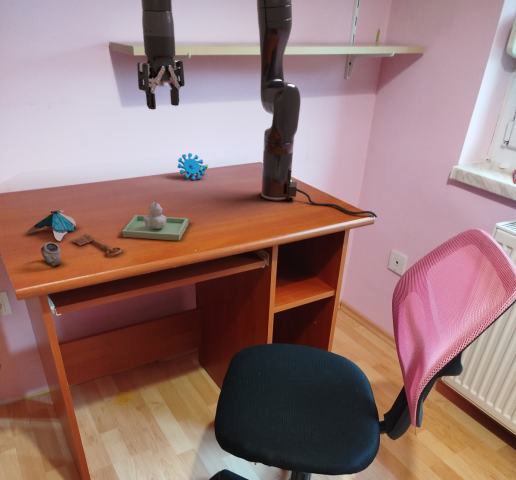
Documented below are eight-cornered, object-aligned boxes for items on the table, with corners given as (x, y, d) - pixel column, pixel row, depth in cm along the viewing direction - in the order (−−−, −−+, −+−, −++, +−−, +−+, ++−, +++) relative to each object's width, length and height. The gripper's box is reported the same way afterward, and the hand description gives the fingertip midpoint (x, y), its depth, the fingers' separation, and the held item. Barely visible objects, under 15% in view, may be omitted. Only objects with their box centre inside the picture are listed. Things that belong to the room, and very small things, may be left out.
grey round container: (53, 269, 110) (48, 248, 107) (39, 260, 113) (34, 240, 110) (67, 264, 112) (63, 244, 109) (53, 256, 115) (48, 236, 112)
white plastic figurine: (171, 229, 130) (169, 199, 126) (150, 234, 127) (147, 204, 122) (160, 223, 134) (158, 194, 129) (139, 228, 130) (136, 199, 125)
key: (72, 242, 123) (104, 260, 114) (71, 238, 122) (103, 257, 114) (92, 234, 126) (124, 252, 118) (91, 231, 125) (124, 248, 117)
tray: (188, 223, 135) (188, 218, 134) (179, 240, 125) (179, 234, 124) (136, 220, 136) (135, 214, 135) (122, 236, 126) (122, 230, 125)
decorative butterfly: (84, 212, 128) (56, 215, 119) (84, 237, 130) (57, 241, 121) (53, 206, 131) (24, 208, 122) (54, 230, 133) (25, 234, 124)
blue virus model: (180, 177, 165) (176, 150, 166) (176, 186, 170) (172, 160, 172) (210, 179, 169) (207, 153, 171) (206, 187, 175) (202, 162, 176)
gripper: (148, 35, 110) (154, 112, 120) (190, 34, 120) (192, 105, 129) (125, 33, 114) (133, 108, 123) (167, 32, 123) (171, 102, 133)
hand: (163, 107), depth 126 cm, fingers open, 8 cm apart
